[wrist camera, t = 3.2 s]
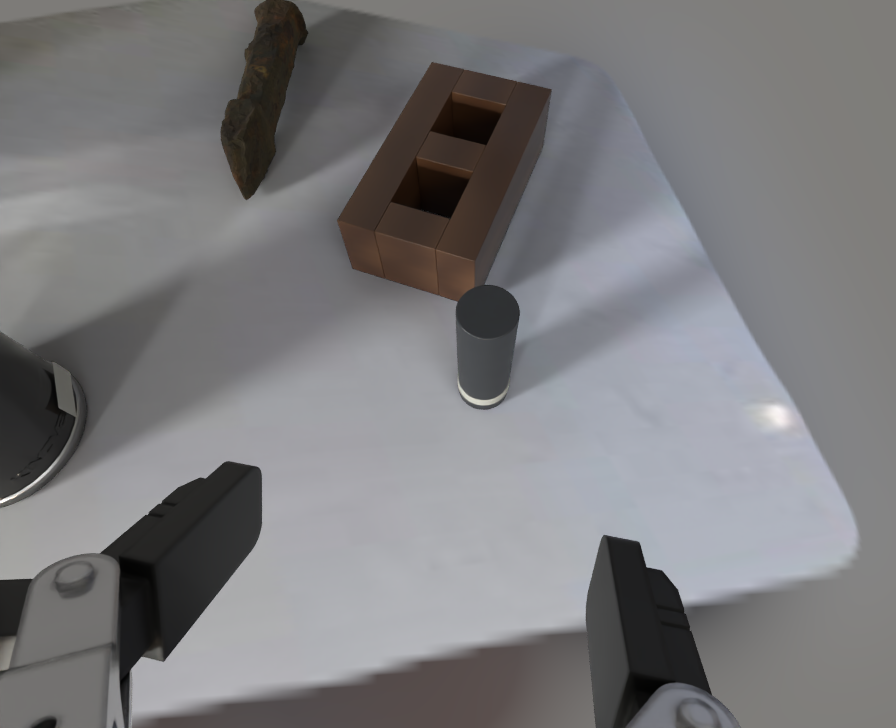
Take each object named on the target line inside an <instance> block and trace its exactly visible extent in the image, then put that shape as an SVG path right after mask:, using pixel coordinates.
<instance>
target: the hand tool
mask: <svg viewBox="0 0 896 728" xmlns="http://www.w3.org/2000/svg"><path fill="white" fill-rule="evenodd" d="M255 16H256V20H257V22H258V24H257V27H256V31H255V36H254V39H253V41H252V42H251V43H249V46H248V48H247V49H245V59H246V67H245V71H244V74H243V77H242V81H241V84H240V88H239V92H238V97H237V99H233V100H230V101H229V102H228V105H227V108H226V111H225V119H224V120H223V121H222V127H221V142H222V146H223V149H224V152H225V154H226V157H227V160H228V162H229V165H230V168H231V172H232V174H233V177H234V179H235V181H236V183H237V185H238V187H239V189H240V191H241V193H242V195H243V197H244V198H245V199H246V200H247V199H249V198H251V196H252V195H254V193H255V192H256V190H257V188H258V187H259V185H260V183H261V182H262V180H263V179H264V177H265V174H266V172H267V169H268V167H269V165H270V163H271V161H272V159H273V156H274V155H275V152H276V149H275V143H274V135H275V132H276V126H277V123H278V120H279V117H280V113H281V110H282V107H283V105H284V102H285V97H286V90H287V87H288V83H289V80H290V77H291V74H292V70H293V68H294V60H295V55H296V51H297V46H298V45H303V43H304V42H305V39H306V37H307V34H308V32H307V30H306V25H305V21H304V18H303V15H302V13H301V12H300V11H299V9H298V7H297V6H296V5H295V4H294V3H292V2H291V1H285V0H266V1H264V2H263V3H261V4H259V6H257V7H256V8H255Z"/></svg>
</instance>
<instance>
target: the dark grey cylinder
mask: <svg viewBox="0 0 896 728" xmlns="http://www.w3.org/2000/svg"><path fill="white" fill-rule="evenodd" d="M519 316H520V310H519V306H518V303H517V301H516V299H515V298H514V297H513V296H512V295H511V294H510V293H509V292H508V291H506V290H505V289H503V288H501V287H498V286H493V285H481V286H477V287H474V288H472V289H470V290H468V291H467V292H466V293H464V295H463V296H462V297H461V298H460V299H459V301H458V303H457V306H456V334H457V358H458V387H459V392H460V395H461V397H462V399H463V400H464V401H465V402H466V403H467V404H468V405H469V406H471V407H473V408H476V409H483V410H485V409H491V408H494V407H496V406H497V405H499V404H500V403H501V402H502V401H503V400H504V398H505V396H506V394H507V391H508V388H509V382H510V371H511V365H512V359H513V353H514V347H515V340H516V334H517V328H518V322H519Z"/></svg>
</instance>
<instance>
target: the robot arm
mask: <svg viewBox="0 0 896 728" xmlns="http://www.w3.org/2000/svg"><path fill="white" fill-rule="evenodd" d="M52 362H53V361H52ZM85 422H86V401H85V396H84V393H83V390H82V388H81V386H80V385H79V383H78V382H77V380H76V379H75V378H74V377H73V376H72V375H71V374H70V372H69V371H67V370H66V369H64V368H63V367H61V366H60V365H58V364H56V363H55V362H53V363H51V362H49V361H46V360H44V359H43V358H41V357H40V356H38V355H36V354H35V353H33V352H32V351H30V350H28V349H27V348H25V347H24V346H23V345H21V344H19V343H18V342H16V341H15V340H13V339H12V338H10V337H8V336H7V335H5V334H4V333H2V332H0V508H1V507H5V506H8V505H11V504H14V503H16V502H18V501H20V500H22V499H24V498H26V497H28V496H30V495H31V494H33V493H34V492H36V491H38V490H39V489H40V488H42V487H43V486H44V485H46V484H47V483H48V482H49V481H50V480H51V479H52V478H53V477H54V476H55V475H57V474H58V473H59V471H60V470H61V469H62V468H63V467H64V466H65V464H66V463H67V462H68V460H69V459H70V457H71V456H72V454H73V453H74V451H75V449H76V447H77V446H78V443H79V441H80V439H81V436H82V433H83V430H84V426H85ZM261 526H262V474H261V470H260V468H259V467H256V466H251V465H245V464H240V463H235V462H230V461H227V462H224V463H223V464H222V465H221V466H220V467H219V468H217V469H216V470H215V471H214V472H213V473H212V474H211V475H209V476H208V477H207V478H206V479H205V478H198V479H196V480H194V481H191V482H189V483H187V484H185V485H183V486H180V487H178V488H177V489H176V490H175V491H173V492H172V493H171V494H170V495H169V496H167V497H166V498H165V499H164V500H163V501H162V503H161V504H158V505H157V506H156V507H154V508H153V509H152V510H151V511H150V512H149V514H148V515H145V516H144V517H143V518H141V519H140V520H139V521H138V522H137V523H135V524H134V525H133V526H132V527H131V528H129V529H128V530H127V531H126V532H125V533H124V534H122V535H121V536H120V537H119V538H118V539H116V540H115V541H114V542H113V543H112V544H110V545H109V546H108V547H107V548H106V549H105V550H103V551H102V552H101V553H100V554H95V553H91V554H81V555H76V556H72V557H69V558H65V559H63V560H60V561H58V562H56V563H54V564H52V565H50V566H48V567H47V568H45V569H44V570H42V571H41V572H40V573H39V574H37V576H36V577H35V578H34V579H15V580H0V728H132V672H131V668H132V667H133V666H134V665H135V664H136V663H137V661H138V660H139V659H140V658H141V657H146V658H150V659H154V660H159V661H163V662H164V661H165V660H166V658H167V657H168V656H169V654H170V653H171V652H172V651H173V649H174V648H175V647H176V646H177V644H178V643H179V642H180V641H181V639H182V638H183V637H184V635H185V634H186V633H187V632H188V630H189V629H190V628H191V627H192V625H193V624H194V623H195V621H196V620H197V619H198V618H199V616H200V615H201V614H202V613H203V611H204V610H205V609H206V608H207V606H208V605H209V604H210V602H211V601H212V600H213V599H214V597H215V596H216V595H217V594H218V592H219V591H220V590H221V589H222V587H223V586H224V585H225V583H226V582H227V581H228V580H229V578H230V577H231V576H232V575H233V573H234V572H235V571H236V570H237V568H238V567H239V566H240V564H241V563H242V562H243V561H244V559H245V558H246V557H247V556H248V554H249V553H250V552H251V551H252V549H253V548H254V546H255V544H256V542H257V540H258V538H259V535H260V531H261ZM586 627H587V638H588V648H589V659H590V669H591V680H592V691H593V702H594V713H595V724H596V728H741V727H740V725H739V723H738V722H737V720H736V718H735V717H734V716H733V714H732V713H731V712H730V711H729V709H728V708H726V707H725V706H724V705H723V704H722V703H721V702H720V701H719V700H718V699H716V698H715V697H714V696H712V694H711V691H710V688H709V684H708V681H707V678H706V675H705V672H704V669H703V666H702V663H701V660H700V657H699V654H698V651H697V647H696V644H695V641H694V638H693V635H692V632H691V631H690V626H689V623H688V620H687V616H686V614H684V607H683V604H682V601H681V598H680V595H679V592H678V589H677V588H676V587H675V586H674V585H673V583H672V582H671V581H670V580H669V578H668V577H667V576H666V575H665V573H664V572H663V571H662V570H657V569H652V568H647V567H646V564H645V561H644V557H643V553H642V549H641V546H640V543H639V542H638V541H633V540H628V539H622V538H617V537H612V536H607V535H604V536H603V537H602V539H601V542H600V546H599V550H598V554H597V558H596V562H595V566H594V570H593V574H592V578H591V582H590V586H589V590H588V595H587V603H586Z"/></svg>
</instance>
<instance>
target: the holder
mask: <svg viewBox="0 0 896 728" xmlns="http://www.w3.org/2000/svg"><path fill="white" fill-rule="evenodd" d="M551 92H552V89H548V88H544V87H539V86H535V85H530V84H526V83H522V82H517V81H513V80H508V79H504V78H500V77H495V76H491V75H486V74H482V73H478V72H473V71H469V70H464V69H460V68H456V67H451V66H447V65H443V64H438V63H434V62H432V63H431V65H430V66H429V68H428V70H427V71H426V73H425V75H424V76H423V78H422V80H421V81H420V83H419V85H418V86H417V88H416V90H415V91H414V93H413V95H412V96H411V98H410V100H409V101H408V103H407V105H406V106H405V108H404V110H403V111H402V113H401V115H400V116H399V118H398V120H397V121H396V123H395V125H394V126H393V128H392V130H391V131H390V133H389V135H388V136H387V138H386V140H385V141H384V143H383V145H382V146H381V148H380V150H379V151H378V153H377V155H376V156H375V158H374V160H373V161H372V163H371V165H370V166H369V168H368V170H367V171H366V173H365V175H364V176H363V178H362V180H361V181H360V183H359V185H358V186H357V188H356V190H355V191H354V193H353V195H352V196H351V198H350V200H349V201H348V203H347V205H346V206H345V208H344V210H343V211H342V213H341V215H340V216H339V218H338V220H337V222H338V225H339V228H340V231H341V234H342V237H343V240H344V243H345V246H346V249H347V253H348V256H349V259H350V262H351V265H352V268H353V269H356V270H359V271H362V272H365V273H369V274H372V275H375V276H378V277H381V278H384V279H385V278H386V279H388V280H392V281H395V282H398V283H401V284H404V285H408V286H411V287H414V288H417V289H420V290H424V291H427V292H430V293H433V294H436V295H440V296H442V297H445V298H449V299H452V300H455V301H459V299H460V298H461V297H462V296H463V295H464V293H466V292H467V291H468V290H470V289H472V288H474V287H477V286H481V285H484V283H485V280H486V278H487V276H488V273H489V271H490V269H491V266H492V264H493V262H494V259H495V257H496V255H497V252H498V250H499V248H500V245H501V243H502V241H503V238H504V236H505V234H506V231H507V229H508V227H509V224H510V222H511V220H512V217H513V215H514V213H515V210H516V208H517V206H518V203H519V201H520V199H521V196H522V194H523V192H524V189H525V187H526V185H527V183H528V180H529V178H530V176H531V173H532V171H533V169H534V166H535V164H536V162H537V159H538V157H539V155H540V152H541V150H542V148H543V143H544V137H545V130H546V124H547V118H548V111H549V105H550V98H551ZM421 209H423V210H427V211H430V212H434V213H437V214H441V215H444V216H448V217H451V219H449V218H446V217H442V216H439V215H435V214H432V213H428V212H425V211H421Z"/></svg>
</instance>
